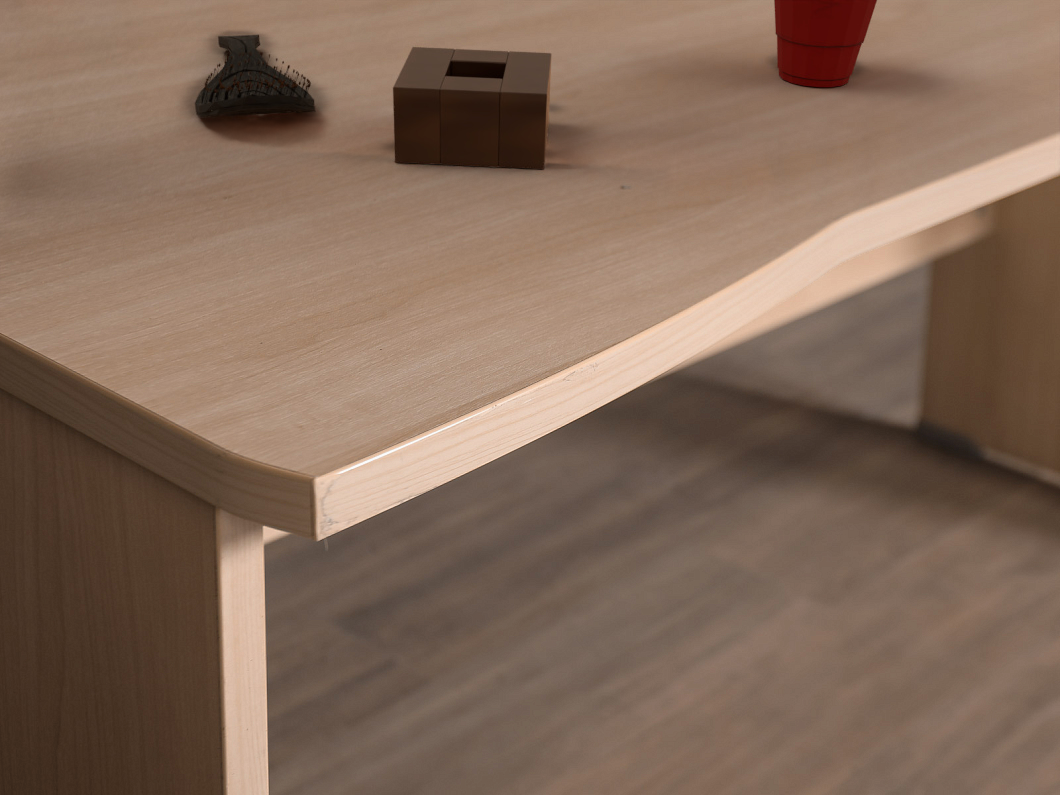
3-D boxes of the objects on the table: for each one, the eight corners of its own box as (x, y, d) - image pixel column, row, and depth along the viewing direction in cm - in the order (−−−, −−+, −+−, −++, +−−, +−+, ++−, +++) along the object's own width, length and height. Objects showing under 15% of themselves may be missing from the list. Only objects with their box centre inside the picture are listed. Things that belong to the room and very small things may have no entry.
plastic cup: (722, 63, 104) (739, -88, 98) (835, 56, 107) (858, -90, 101) (784, 102, 95) (806, -62, 89) (905, 93, 98) (935, -66, 92)
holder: (394, 162, 80) (392, 87, 78) (413, 116, 89) (412, 46, 86) (544, 169, 80) (547, 94, 78) (548, 122, 89) (551, 52, 86)
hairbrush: (284, 9, 103) (321, 79, 82) (287, 54, 105) (325, 133, 84) (182, 13, 101) (193, 86, 80) (187, 58, 103) (200, 141, 82)
